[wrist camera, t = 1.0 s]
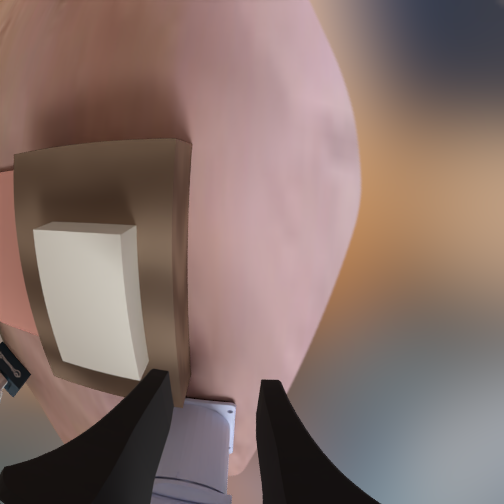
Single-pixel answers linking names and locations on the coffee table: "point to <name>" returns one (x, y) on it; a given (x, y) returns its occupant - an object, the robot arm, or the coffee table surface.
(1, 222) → the mat
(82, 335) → the tile
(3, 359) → the watch
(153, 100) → the coffee table surface
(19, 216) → the brown wooden block
